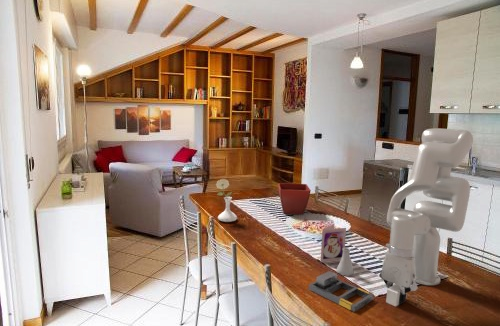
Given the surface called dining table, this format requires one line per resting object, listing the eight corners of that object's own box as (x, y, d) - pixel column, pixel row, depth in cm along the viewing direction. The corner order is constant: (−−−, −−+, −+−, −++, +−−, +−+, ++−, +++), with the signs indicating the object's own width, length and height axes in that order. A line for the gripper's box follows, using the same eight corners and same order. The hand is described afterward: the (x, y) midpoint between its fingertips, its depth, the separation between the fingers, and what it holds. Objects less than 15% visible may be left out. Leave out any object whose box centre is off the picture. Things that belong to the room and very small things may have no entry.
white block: (396, 294, 127) (397, 281, 126) (406, 298, 124) (407, 285, 124) (385, 302, 122) (387, 289, 121) (395, 306, 119) (397, 293, 118)
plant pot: (309, 216, 219) (311, 190, 216) (279, 215, 219) (280, 189, 216) (305, 208, 238) (306, 183, 235) (277, 207, 238) (278, 183, 235)
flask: (340, 266, 149) (342, 244, 147) (356, 271, 144) (358, 249, 143) (332, 272, 143) (334, 249, 142) (349, 278, 139) (351, 254, 137)
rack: (328, 279, 137) (328, 267, 136) (372, 299, 123) (374, 286, 122) (308, 289, 129) (309, 276, 128) (354, 312, 115) (355, 298, 114)
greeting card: (321, 263, 151) (323, 230, 149) (313, 256, 158) (315, 224, 156) (344, 260, 154) (347, 228, 152) (336, 254, 162) (338, 223, 159)
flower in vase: (238, 218, 211) (239, 177, 208) (235, 224, 200) (236, 181, 196) (217, 216, 213) (217, 176, 209) (213, 222, 201) (213, 180, 198)
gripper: (373, 246, 124) (369, 294, 126) (420, 261, 112) (415, 314, 114) (383, 241, 129) (379, 287, 131) (430, 255, 117) (424, 306, 119)
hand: (396, 299), depth 123 cm, fingers closed on white block, 3 cm apart
